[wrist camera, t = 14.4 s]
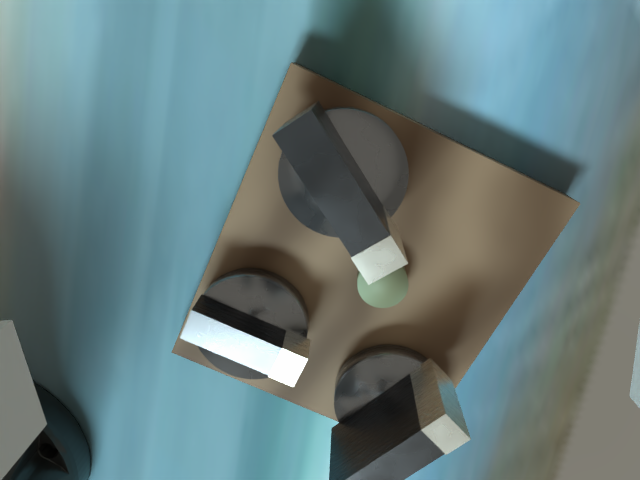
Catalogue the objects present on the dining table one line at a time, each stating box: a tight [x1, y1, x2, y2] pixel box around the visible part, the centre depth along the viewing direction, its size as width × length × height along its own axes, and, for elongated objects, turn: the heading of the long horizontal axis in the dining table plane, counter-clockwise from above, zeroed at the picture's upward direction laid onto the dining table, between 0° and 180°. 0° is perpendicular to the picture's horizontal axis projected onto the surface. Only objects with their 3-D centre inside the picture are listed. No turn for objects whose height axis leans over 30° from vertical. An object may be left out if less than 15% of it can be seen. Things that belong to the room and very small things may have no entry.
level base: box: [172, 63, 580, 421], centre depth 31 cm, size 18×20×3 cm
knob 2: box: [272, 101, 409, 285], centre depth 25 cm, size 8×7×7 cm
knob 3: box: [329, 344, 471, 480], centre depth 30 cm, size 8×7×7 cm
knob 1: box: [180, 268, 311, 387], centre depth 30 cm, size 7×7×4 cm
